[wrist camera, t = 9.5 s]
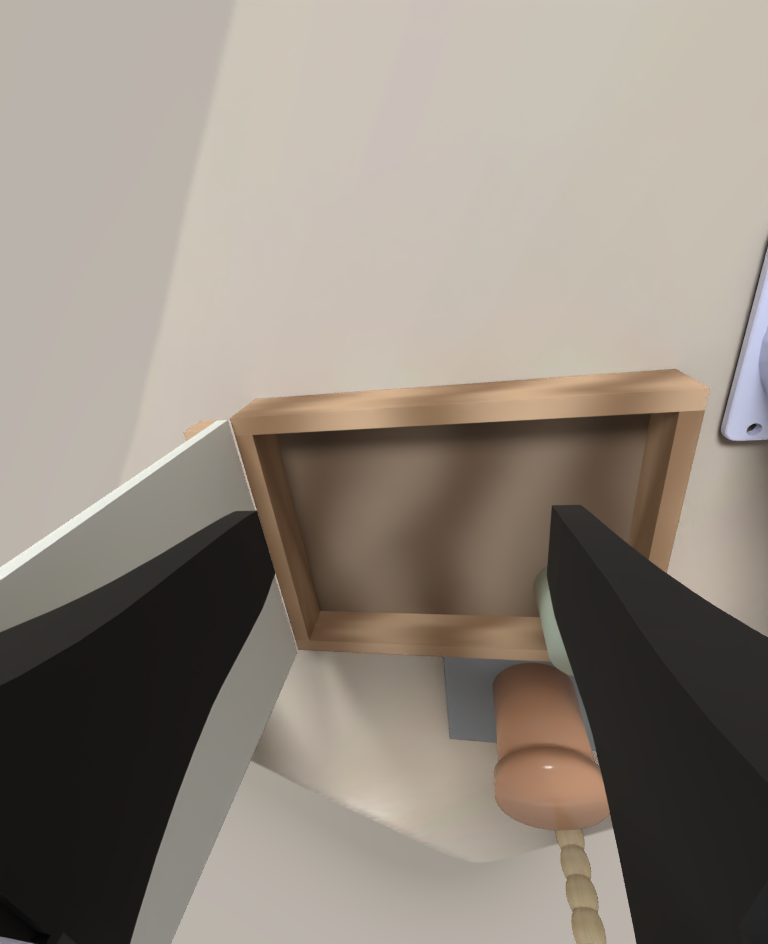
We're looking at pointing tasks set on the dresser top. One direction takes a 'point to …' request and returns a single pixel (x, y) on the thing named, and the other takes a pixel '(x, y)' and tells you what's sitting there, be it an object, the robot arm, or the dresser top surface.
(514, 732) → the terracotta pot
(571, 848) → the toy lamp
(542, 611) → the pale green egg
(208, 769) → the lid
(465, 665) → the mat
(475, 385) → the wooden tray
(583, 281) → the dresser top surface
